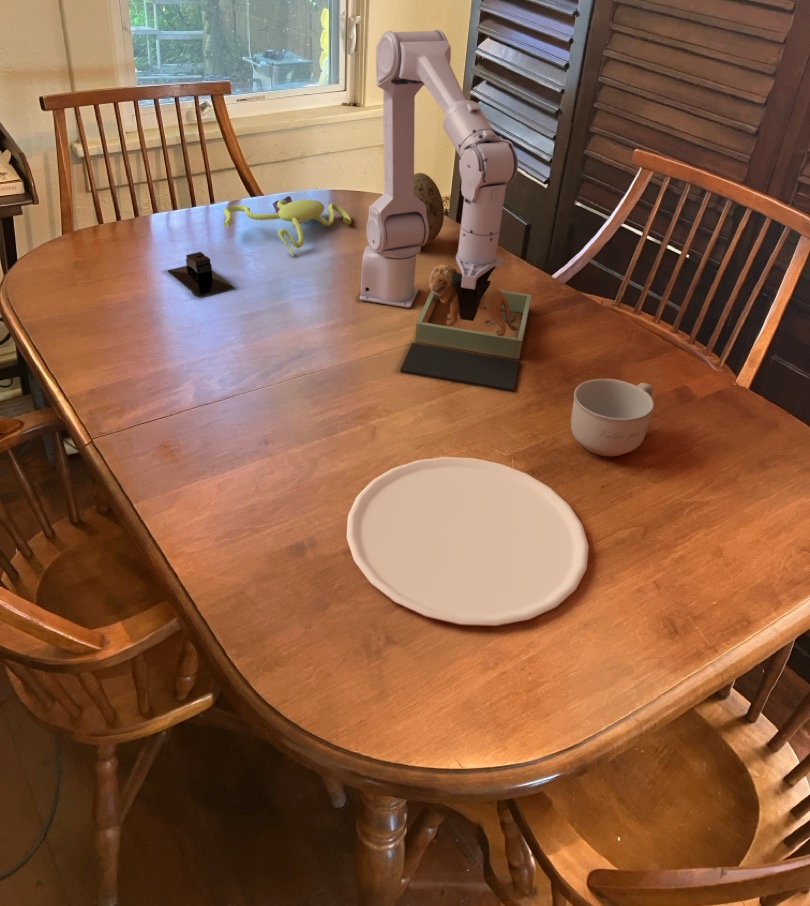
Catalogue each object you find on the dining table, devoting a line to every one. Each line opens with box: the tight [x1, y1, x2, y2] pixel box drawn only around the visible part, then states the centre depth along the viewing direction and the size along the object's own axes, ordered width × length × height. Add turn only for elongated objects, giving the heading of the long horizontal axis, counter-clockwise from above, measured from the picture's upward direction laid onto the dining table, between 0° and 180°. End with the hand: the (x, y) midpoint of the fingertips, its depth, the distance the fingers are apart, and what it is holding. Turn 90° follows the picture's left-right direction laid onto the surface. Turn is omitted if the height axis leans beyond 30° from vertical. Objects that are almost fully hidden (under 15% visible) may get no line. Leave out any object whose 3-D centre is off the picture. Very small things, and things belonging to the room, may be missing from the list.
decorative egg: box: [414, 172, 445, 248], centre depth 162 cm, size 11×11×15 cm
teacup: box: [570, 378, 655, 457], centre depth 113 cm, size 14×11×8 cm
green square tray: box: [414, 289, 533, 360], centre depth 139 cm, size 18×18×4 cm
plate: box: [346, 456, 590, 627], centre depth 97 cm, size 29×29×1 cm
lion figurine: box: [428, 263, 518, 336], centre depth 123 cm, size 15×5×9 cm, turn 79°
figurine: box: [223, 195, 352, 256], centre depth 167 cm, size 18×27×6 cm
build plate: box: [167, 251, 235, 298], centre depth 146 cm, size 12×7×5 cm, turn 39°
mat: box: [399, 342, 521, 393], centre depth 129 cm, size 18×9×1 cm, turn 78°
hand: (469, 311), depth 125 cm, fingers closed on lion figurine, 4 cm apart
